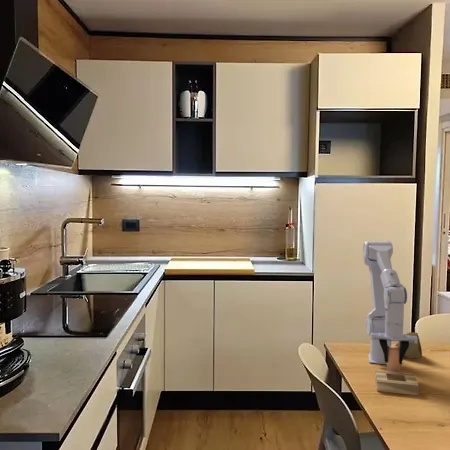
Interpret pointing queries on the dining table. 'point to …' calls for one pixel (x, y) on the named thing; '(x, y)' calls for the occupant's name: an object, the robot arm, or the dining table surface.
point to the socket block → (396, 382)
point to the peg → (393, 358)
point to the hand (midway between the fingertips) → (393, 362)
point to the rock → (413, 347)
